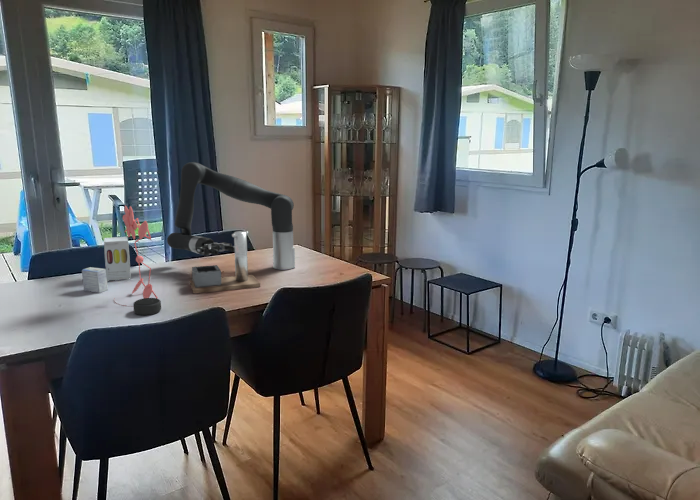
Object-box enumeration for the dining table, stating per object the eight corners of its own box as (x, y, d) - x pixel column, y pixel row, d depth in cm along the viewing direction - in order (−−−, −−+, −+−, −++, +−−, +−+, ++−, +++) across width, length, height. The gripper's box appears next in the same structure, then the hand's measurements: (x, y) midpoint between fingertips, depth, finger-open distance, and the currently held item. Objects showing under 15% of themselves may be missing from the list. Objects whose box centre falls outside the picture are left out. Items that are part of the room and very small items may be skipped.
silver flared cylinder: (245, 277, 221) (244, 230, 217) (253, 279, 218) (252, 231, 214) (229, 281, 215) (227, 233, 210) (237, 283, 212) (236, 234, 208)
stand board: (252, 278, 225) (252, 274, 225) (260, 286, 213) (260, 283, 213) (189, 283, 216) (189, 280, 216) (193, 293, 203) (193, 289, 203)
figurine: (144, 286, 211) (135, 199, 203) (167, 303, 191) (158, 208, 183) (103, 294, 202) (92, 203, 193) (123, 312, 182) (112, 212, 174)
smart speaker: (157, 316, 179) (156, 304, 178) (130, 316, 178) (129, 305, 177) (164, 307, 187) (163, 296, 186) (138, 308, 186) (137, 297, 186)
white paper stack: (108, 290, 206) (106, 268, 204) (99, 293, 202) (97, 271, 200) (92, 288, 209) (90, 266, 207) (83, 291, 205) (81, 269, 203)
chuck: (217, 279, 218) (217, 265, 216) (221, 285, 209) (220, 270, 207) (192, 281, 214) (191, 267, 213) (195, 288, 205) (194, 273, 204)
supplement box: (106, 281, 218) (102, 241, 214) (106, 276, 226) (103, 237, 222) (131, 279, 222) (128, 240, 218) (130, 273, 230) (127, 236, 226)
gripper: (187, 239, 223) (211, 244, 214) (214, 234, 234) (238, 239, 225) (188, 256, 225) (212, 262, 215) (215, 251, 236) (239, 256, 226)
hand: (225, 250), depth 220 cm, fingers open, 8 cm apart
